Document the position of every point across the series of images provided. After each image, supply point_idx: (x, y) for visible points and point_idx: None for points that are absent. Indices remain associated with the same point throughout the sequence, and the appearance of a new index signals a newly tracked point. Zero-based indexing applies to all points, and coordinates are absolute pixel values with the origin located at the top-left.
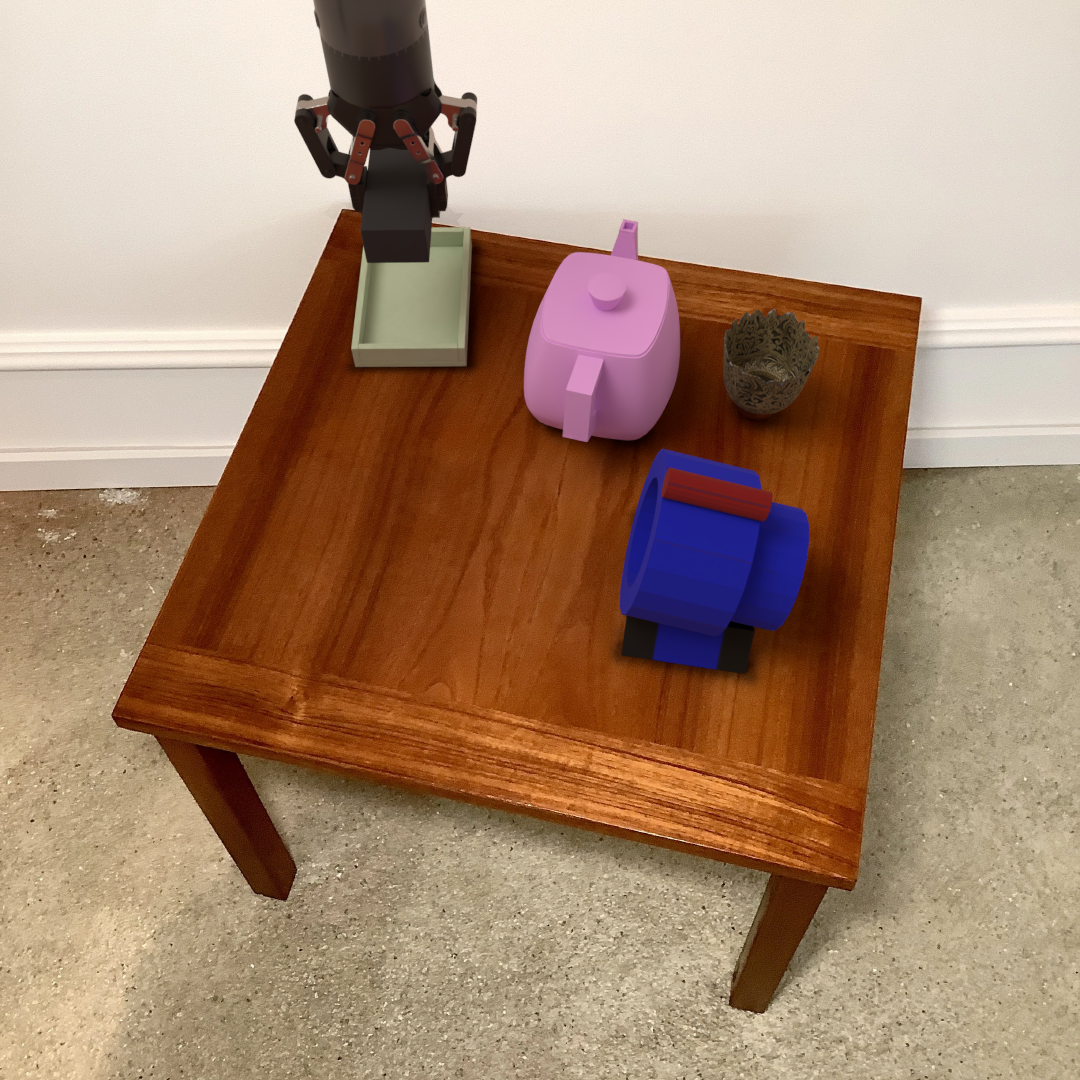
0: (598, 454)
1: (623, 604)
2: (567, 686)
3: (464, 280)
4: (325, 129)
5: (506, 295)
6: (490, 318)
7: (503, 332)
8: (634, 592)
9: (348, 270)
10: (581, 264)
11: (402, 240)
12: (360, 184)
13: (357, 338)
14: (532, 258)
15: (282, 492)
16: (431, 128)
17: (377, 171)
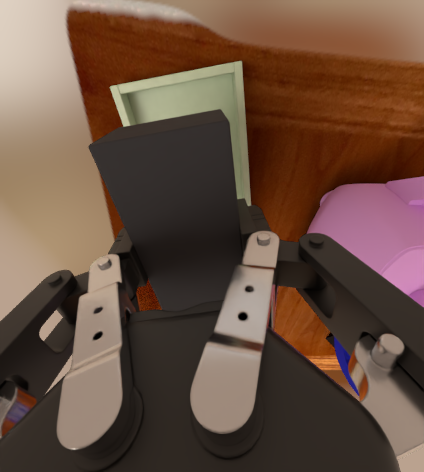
0: None
1: (339, 356)
2: (302, 347)
3: (244, 158)
4: (23, 349)
5: (278, 138)
6: (264, 169)
7: (276, 183)
8: (353, 385)
9: (113, 128)
10: (411, 264)
11: None
12: (139, 286)
13: None
14: (308, 73)
15: (159, 307)
16: (273, 277)
17: (149, 241)
